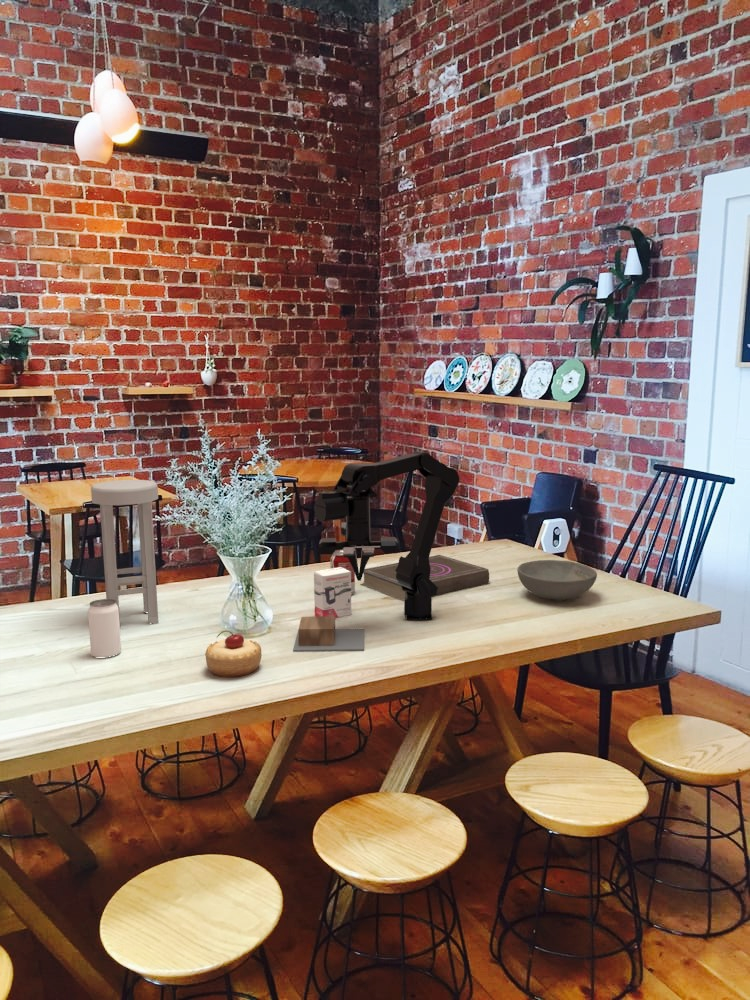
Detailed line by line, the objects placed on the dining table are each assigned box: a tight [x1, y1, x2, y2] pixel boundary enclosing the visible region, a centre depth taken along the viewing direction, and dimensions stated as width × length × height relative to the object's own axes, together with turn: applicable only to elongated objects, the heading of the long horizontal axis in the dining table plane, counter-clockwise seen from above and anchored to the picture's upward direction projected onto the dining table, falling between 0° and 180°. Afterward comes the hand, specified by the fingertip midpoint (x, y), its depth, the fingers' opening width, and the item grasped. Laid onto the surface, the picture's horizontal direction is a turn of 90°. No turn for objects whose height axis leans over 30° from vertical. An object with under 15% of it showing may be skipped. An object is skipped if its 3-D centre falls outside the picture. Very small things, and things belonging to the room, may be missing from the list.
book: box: [360, 554, 490, 602], centre depth 233 cm, size 30×22×5 cm
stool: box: [90, 479, 159, 624], centre depth 200 cm, size 16×16×35 cm
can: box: [87, 598, 122, 658], centre depth 178 cm, size 6×6×12 cm
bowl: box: [517, 559, 598, 601], centre depth 219 cm, size 21×21×8 cm
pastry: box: [204, 630, 262, 678], centre depth 169 cm, size 12×12×9 cm
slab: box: [297, 616, 336, 646], centre depth 186 cm, size 4×9×8 cm
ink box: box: [313, 567, 352, 619], centre depth 204 cm, size 8×5×12 cm, turn 123°
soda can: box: [329, 550, 356, 595], centre depth 223 cm, size 7×7×12 cm
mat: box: [292, 628, 365, 653], centre depth 186 cm, size 16×14×1 cm
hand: (359, 580), depth 192 cm, fingers closed
